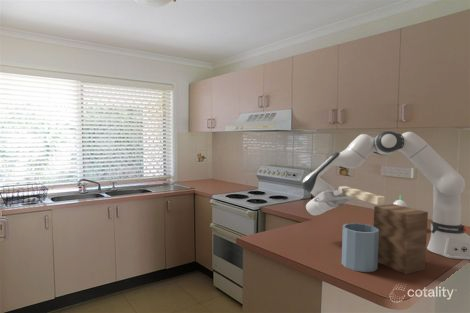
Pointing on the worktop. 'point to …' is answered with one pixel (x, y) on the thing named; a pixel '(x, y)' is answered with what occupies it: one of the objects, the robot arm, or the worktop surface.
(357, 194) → the slat
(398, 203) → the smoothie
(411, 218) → the stand
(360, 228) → the pot
